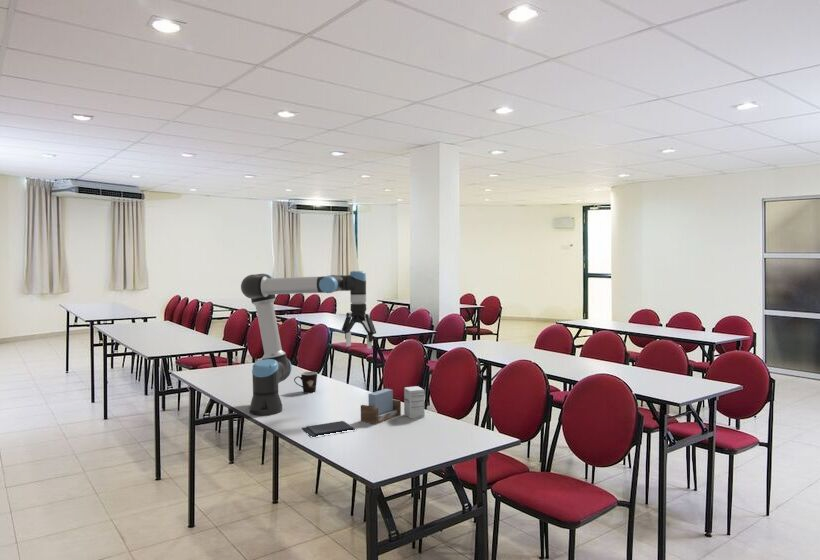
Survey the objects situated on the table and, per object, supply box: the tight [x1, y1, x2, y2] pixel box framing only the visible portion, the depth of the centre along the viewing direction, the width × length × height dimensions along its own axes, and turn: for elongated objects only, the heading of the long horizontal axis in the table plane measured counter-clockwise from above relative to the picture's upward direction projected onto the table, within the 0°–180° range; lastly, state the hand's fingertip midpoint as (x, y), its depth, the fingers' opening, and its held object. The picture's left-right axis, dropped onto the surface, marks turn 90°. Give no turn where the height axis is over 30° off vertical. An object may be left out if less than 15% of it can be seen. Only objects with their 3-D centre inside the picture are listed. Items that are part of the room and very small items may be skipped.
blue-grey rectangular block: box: [368, 388, 394, 416], centre depth 250 cm, size 12×4×11 cm, turn 142°
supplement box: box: [403, 385, 425, 420], centre depth 253 cm, size 7×7×13 cm
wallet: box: [301, 420, 356, 438], centre depth 234 cm, size 20×2×15 cm
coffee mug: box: [293, 371, 318, 394], centre depth 299 cm, size 12×9×10 cm
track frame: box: [360, 398, 402, 425], centre depth 250 cm, size 17×9×7 cm, turn 142°
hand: (358, 347), depth 268 cm, fingers open, 13 cm apart
